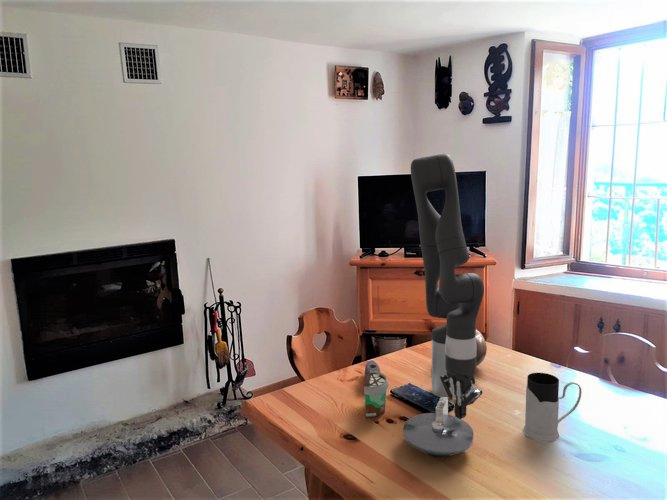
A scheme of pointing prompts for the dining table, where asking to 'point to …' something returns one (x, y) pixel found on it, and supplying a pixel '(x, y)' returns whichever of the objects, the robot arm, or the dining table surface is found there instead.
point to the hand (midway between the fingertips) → (460, 417)
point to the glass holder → (544, 406)
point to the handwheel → (438, 432)
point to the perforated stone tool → (371, 369)
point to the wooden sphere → (480, 348)
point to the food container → (375, 395)
